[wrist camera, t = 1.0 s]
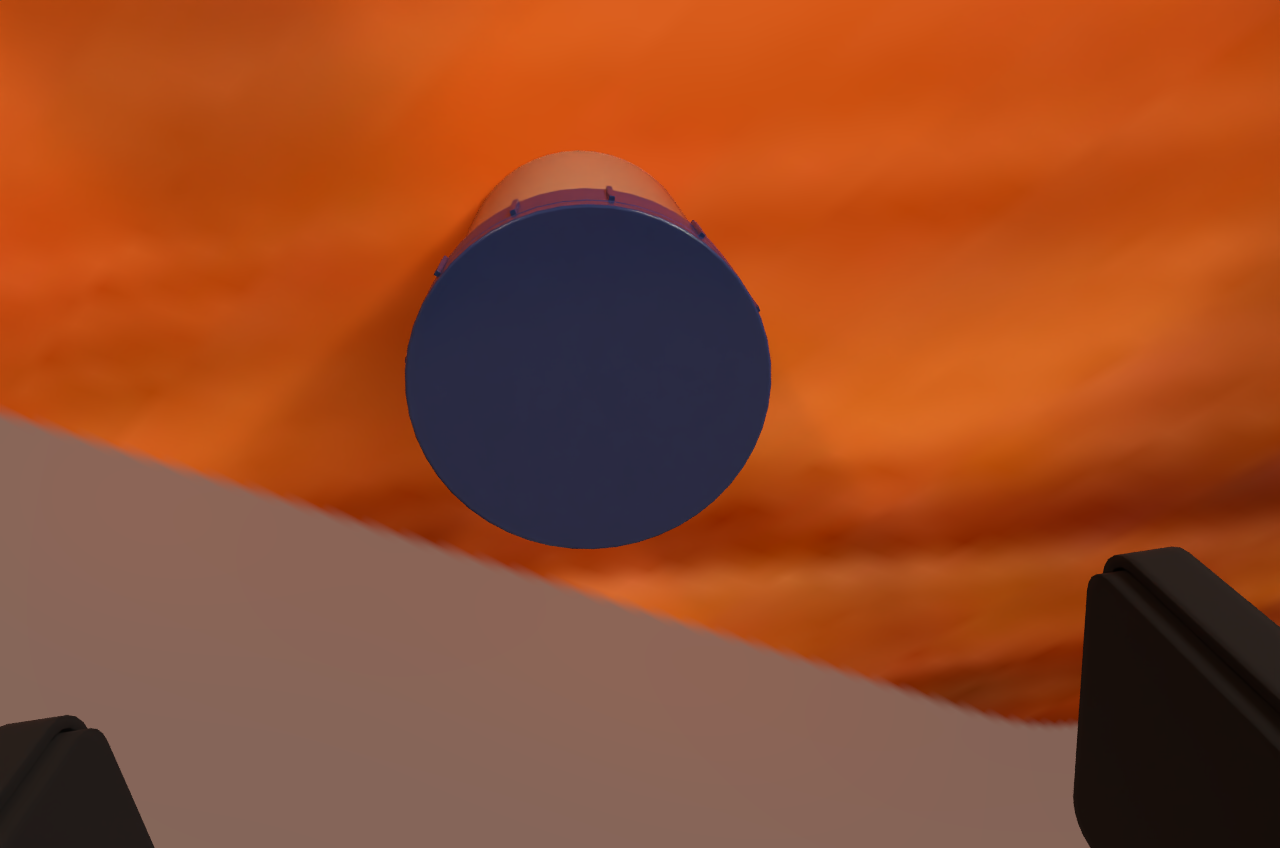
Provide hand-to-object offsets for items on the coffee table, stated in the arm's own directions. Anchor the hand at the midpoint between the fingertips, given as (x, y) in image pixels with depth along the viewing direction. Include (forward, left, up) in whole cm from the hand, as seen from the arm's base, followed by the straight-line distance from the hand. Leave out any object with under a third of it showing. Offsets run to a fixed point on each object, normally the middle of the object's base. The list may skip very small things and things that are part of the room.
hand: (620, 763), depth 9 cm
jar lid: (0, 0, -10) cm, 10 cm away
